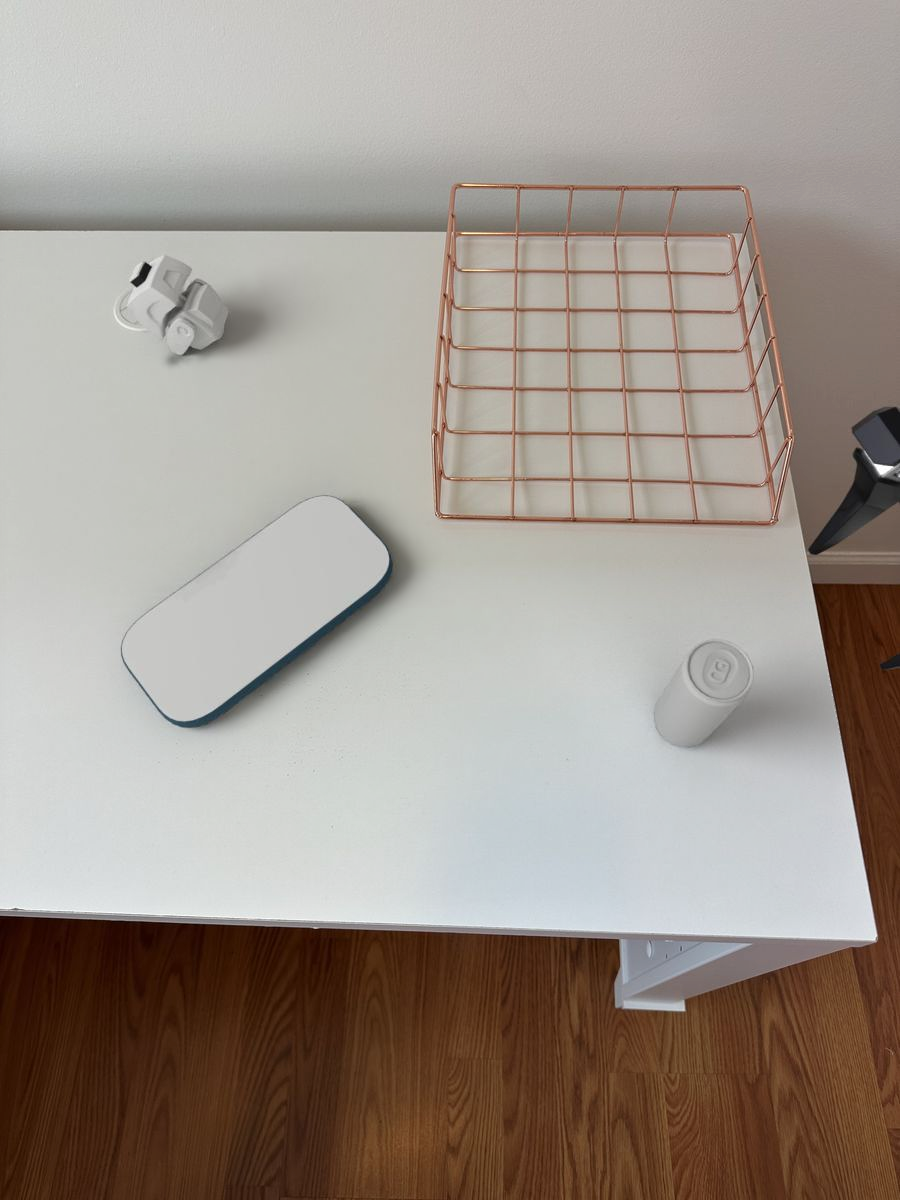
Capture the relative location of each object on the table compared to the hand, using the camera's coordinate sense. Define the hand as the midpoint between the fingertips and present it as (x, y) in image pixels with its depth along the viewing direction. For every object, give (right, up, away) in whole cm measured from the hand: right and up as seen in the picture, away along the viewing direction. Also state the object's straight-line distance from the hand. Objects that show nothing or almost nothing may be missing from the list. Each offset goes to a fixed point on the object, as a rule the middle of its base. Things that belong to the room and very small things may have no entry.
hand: (846, 608), depth 57 cm
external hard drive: (-43, -1, +16) cm, 46 cm away
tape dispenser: (-54, +28, +30) cm, 68 cm away
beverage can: (-8, -9, +11) cm, 17 cm away
